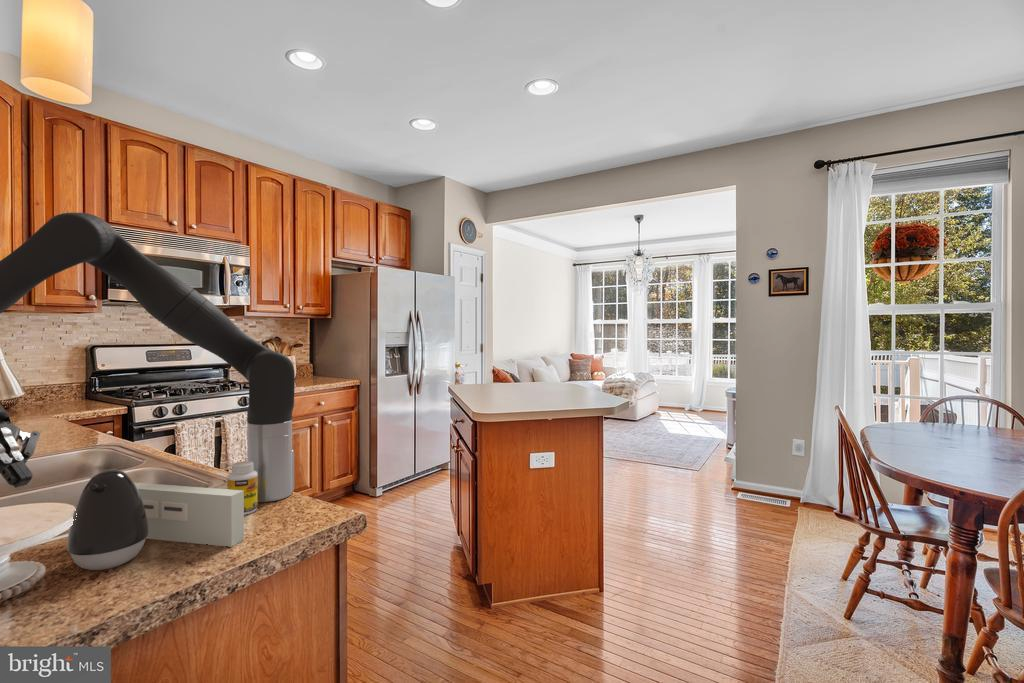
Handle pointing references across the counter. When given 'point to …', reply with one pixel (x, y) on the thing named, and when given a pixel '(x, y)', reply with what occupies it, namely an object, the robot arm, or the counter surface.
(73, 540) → the dark grey egg device
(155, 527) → the rectangular box with label
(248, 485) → the supplement bottle
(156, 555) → the counter surface
